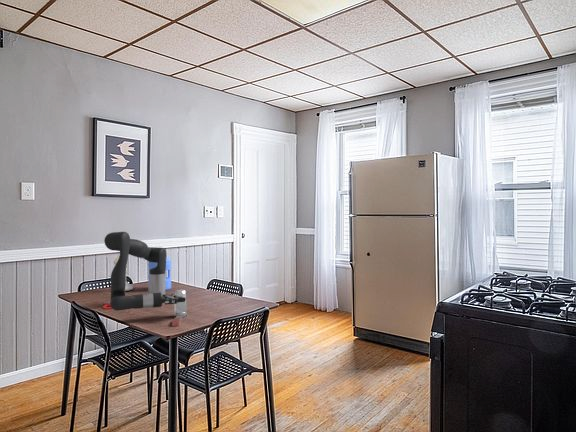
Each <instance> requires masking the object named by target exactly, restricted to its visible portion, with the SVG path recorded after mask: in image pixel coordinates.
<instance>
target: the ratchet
mask: <svg viewBox="0 0 576 432" xmlns="http://www.w3.org/2000/svg"><path fill="white" fill-rule="evenodd" d="M173 312H174V313H173V316H174V318H173V319H172V322H171V327H180V324H181V322H182V319H183V318H186V317H188V316H187V315H188V313H187V312H182V313H175V311H173Z"/></svg>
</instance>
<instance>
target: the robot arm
mask: <svg viewBox="0 0 576 432" xmlns="http://www.w3.org/2000/svg"><path fill="white" fill-rule="evenodd" d="M130 237H131V236H130V235H129V232H126V231H114V232H109V233H107V234H106V236H105V237H104V245H105V247H106V248H107V249H108V250H110V251H116V252H119V255H118V256H119V259H118V261H117V263H116V265H114V267H113V269H112V270H111V274H110V290H111V291H110V292H111V293H110V306H109V307H111V308H112V309H111V310H114V311H124V310H130V309H132V310H134V309H136V310H137V309H150V308H151V309H153V308H154V309H155V308H161V307H162V306H163V304H164V305H174V304H177V303H178V302H185V298H175V293H168V294H166V290H165V277H166V271H167V270H166V257H167V250H166V248H165V247H161V246H159V247H158V246H157V247H156V246H155V247H150V246H148V245H147V243H146V242H144V241H142V240H139V239H134V238H130ZM129 255H130V256H133V257H136V258H139V259H143V260H146V261H147V262H148V261H149V262H155V263H158V264H157V266H156V267H155V268H152V269H150V271H149V274H150V286H147V293H142V294H132V295H126V293H125V292H126V291H125V285H126V281H127V274H126V270H127V268H126V266H127V265H128V260H129ZM165 270H166V271H165ZM174 300H175V301H174Z"/></svg>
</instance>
